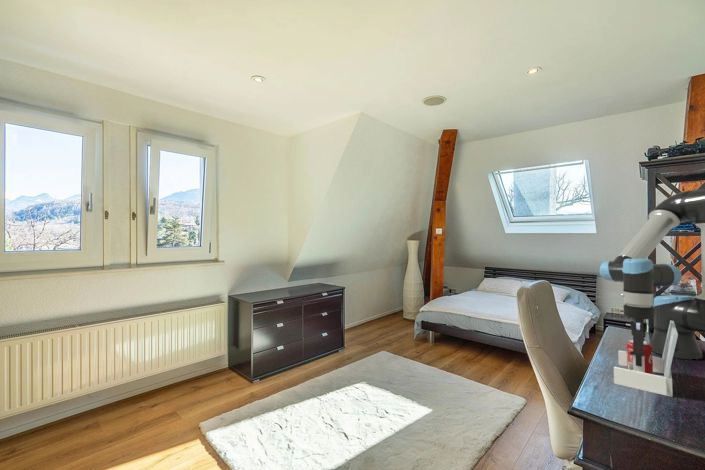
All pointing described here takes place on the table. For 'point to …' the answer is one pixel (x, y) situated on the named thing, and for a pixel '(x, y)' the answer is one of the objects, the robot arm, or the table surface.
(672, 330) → the lid
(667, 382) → the white flat pieces
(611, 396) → the table surface
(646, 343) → the beverage can
